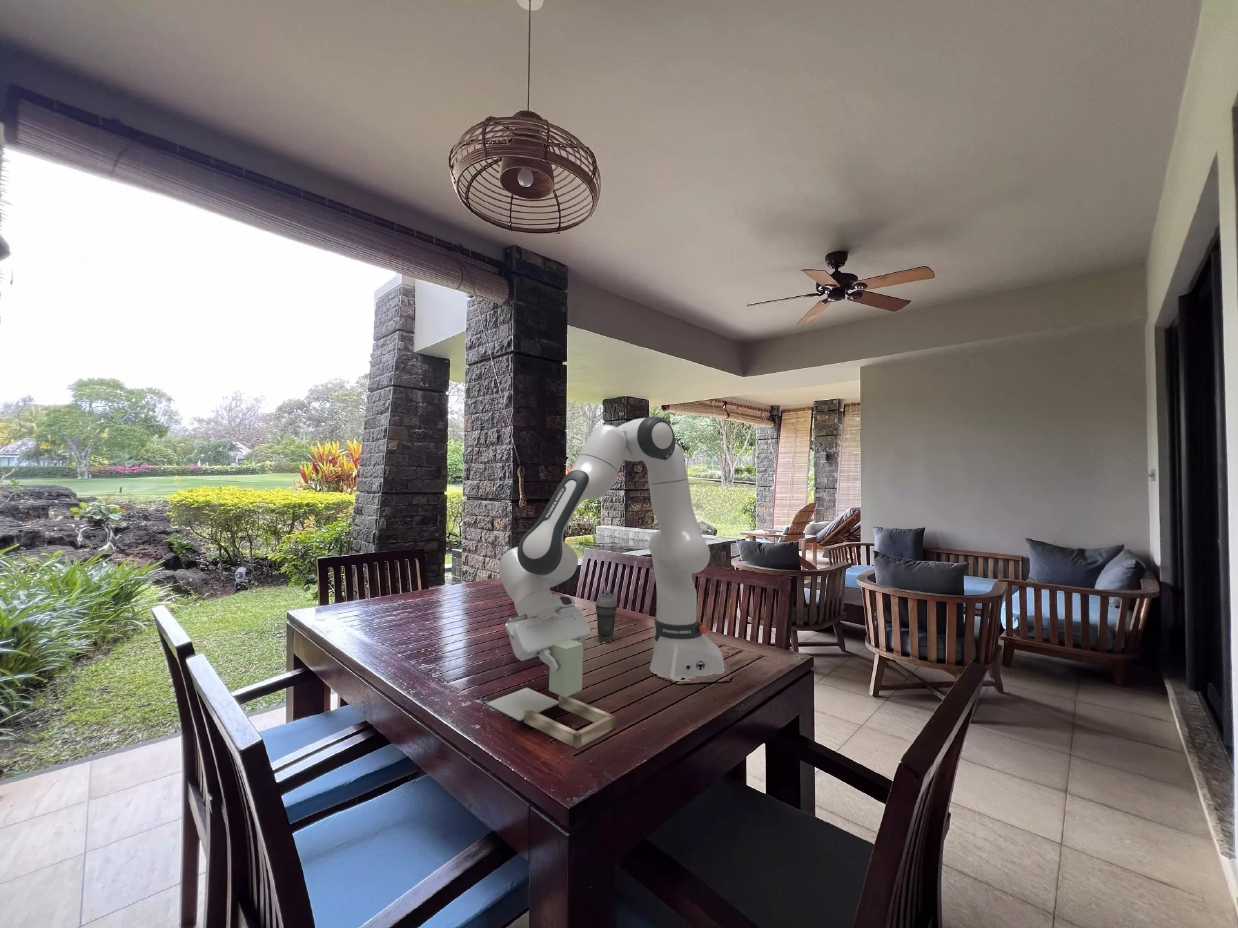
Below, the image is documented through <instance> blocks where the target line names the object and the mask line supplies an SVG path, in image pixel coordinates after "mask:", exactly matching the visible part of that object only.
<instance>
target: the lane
mask: <svg viewBox="0 0 1238 928" xmlns="http://www.w3.org/2000/svg"><path fill="white" fill-rule="evenodd" d="M558 701H559V704H557V706H558V707H559V708H560V709H563V710H565V711H567V712H569V713H572V714H574V715H577V716H579V717H581V718H583V719H585V720H588V721H590V722H592V723H591V724H590V725H588V726H586V727H584V728H582V729H581V730H578V731H576V730H575V729H572V728H570V727H569V726H566V725H564V724H562V723H560V722H558V721H556V720H553V719H552V718H549V717H547V716H545V715H543V714H541V713H540V712H539V713H537V712H535V711H533V710H530V709H526V710H524V719H523V723H524V724H526V725H529V726H530V727H533V728H534V729H536V730H539V731H541V732H543V733H545V734H546V735H547V736H551V737H552V738H555V739H557V740H559V741H561V743H564V744H566V745H568V746H571V747H572V748H574V749H576V750H578V749H580V748H582V747H584V746H585V745H587V744H589V743H590V742H593V741H594V740H596V739H599V738H600V737H602V736H603V735H605V734H607V733H609V732H610V730H611V731H612V729H613V730H615V729H616V715H613V714H611V713H609V712H606V711H605V710H601V709H599V708H598V707H597V708H596V707H594V706H592V705H589V704H587V703H585V702H582V701H580V700H577V699H575V698H573V697H571V696H567V697H563V696H561V695H558ZM614 728H615V729H614Z"/></svg>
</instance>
